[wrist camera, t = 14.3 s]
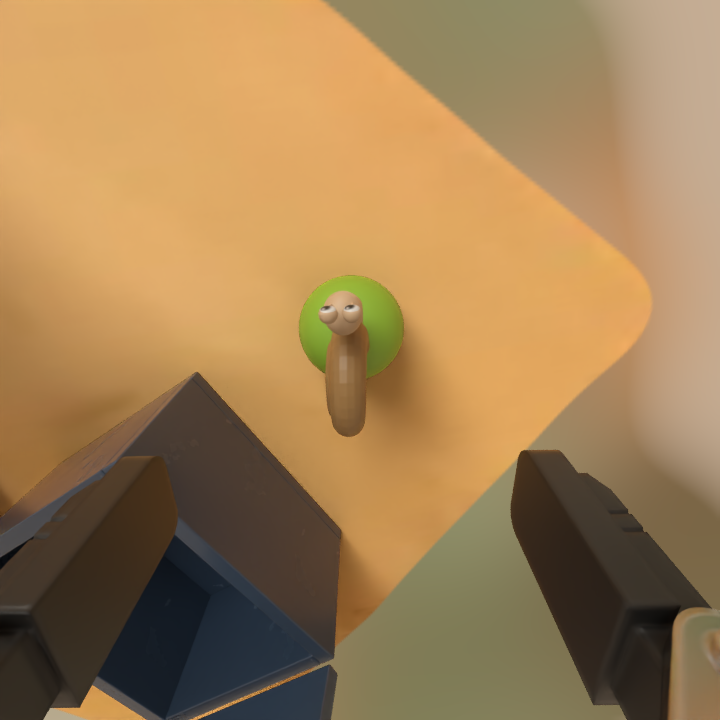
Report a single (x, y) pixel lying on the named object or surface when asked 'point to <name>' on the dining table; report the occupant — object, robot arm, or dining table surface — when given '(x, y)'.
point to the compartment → (207, 560)
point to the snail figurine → (350, 342)
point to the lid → (288, 700)
